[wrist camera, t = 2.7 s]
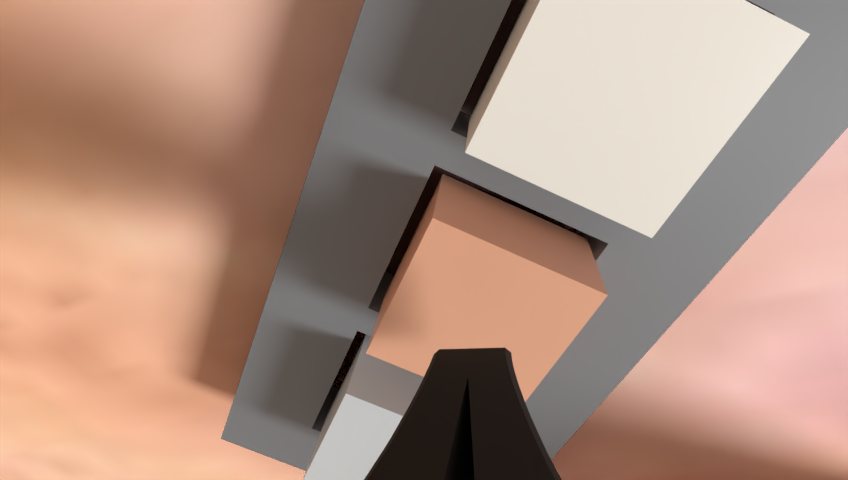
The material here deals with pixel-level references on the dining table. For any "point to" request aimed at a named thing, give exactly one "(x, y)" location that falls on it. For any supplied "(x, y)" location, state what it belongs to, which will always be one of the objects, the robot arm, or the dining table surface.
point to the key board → (445, 147)
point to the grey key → (362, 418)
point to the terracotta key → (487, 286)
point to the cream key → (626, 97)
